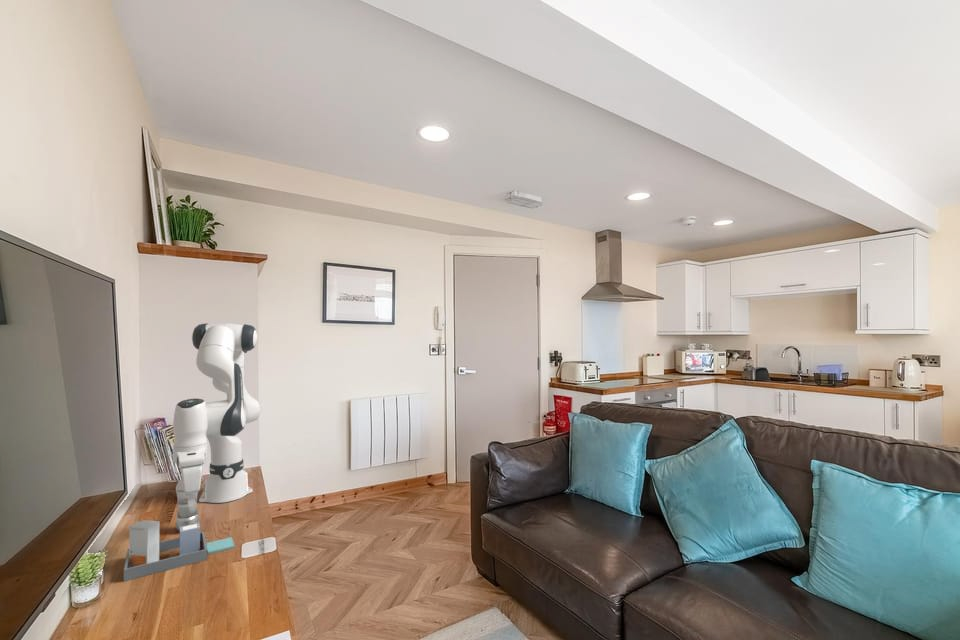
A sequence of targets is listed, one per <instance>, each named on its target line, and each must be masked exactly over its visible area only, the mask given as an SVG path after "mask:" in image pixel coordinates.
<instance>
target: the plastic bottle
mask: <svg viewBox="0 0 960 640" xmlns="http://www.w3.org/2000/svg"><path fill="white" fill-rule="evenodd" d="M198 493H199V491H198V492H196V496H195V504H194V505H191V506H188V498H187V495H186V494H185V493H184V488H183V481H182V474H181V473H180V479H179V480H178V482H177V484H176V486H175V494H176V497H177V515H176V519H175V529H176V530H177V531H178V532H180V527H182V526H187V525H192V524H196V523H199V524H200V516H199V513H198Z"/></svg>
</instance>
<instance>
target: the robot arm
mask: <svg viewBox="0 0 960 640" xmlns="http://www.w3.org/2000/svg"><path fill="white" fill-rule="evenodd" d="M192 331H193V332H192V334H191V340H192V344H193V347H194V348H195V349H196V350H198V351H197V353H196V359H195V360H196V361H195V362H196V363H195V364H196V367H197V368H198V370H199V372H201V373H202V374H203V375H205V376H206V377H209V378H211V379H212V385H213V387H214V389H216V390H217V391H219V392H222V393H225V394H226V399H225V400H216V401H209V402H206V401H205V400H204V399H202V398H187V399H184V400H181V401H179V402H178V403H177V404H176V405H175V408H174V412H173V419H172V420H173V421H172V422H173V423H172V433H173V435H174V440H173V443H172V444H173V445H172V463H173V464H175V465H177V467H178V468H179V469H180V475H181V474H182V477H181V478H182V481H183V488H184V493H185V494H186V495H187V498H188V506H191V505H194V504H195V496H196V492H198V493H199V492H200V490H201V484H202V475H203V466H204V464H205V463H206V459H207V458H209V456H208V453H209V452H208V451H209V449H208V448H210V463H209V466H208V468H209V469H208V470H209V474H208V476H207V477H206V479H205V480H203V485H202V486H203V487H205V488H203V490H202V493H201V495H200V497H199V499H198V503H210V504H211V503H212V504H218V503H219V504H220V503H221V504H223V503H228V502H232V501H236V500H239V499H242V498H243V497H245V496H246V495H248V494H251V493H253V488H251V487H250V486H249V483H248V481H249V479H248V478H249V477H248V472H247V471H246V470H245V469H244V465H245V462H244V459H243V442H242V439H241V438H240V437H238V436H237V435H238V434H239V433H241V432H242V431H243V430H244V429H245V427H246V425H247V424H250V423H252V422H255V421H257V420H258V418H259V417H260V415H261V412H262V409H261V408H262V406H261V404H260V402H259V401H258V400H257V399H256V398H254V397H253V396H252V395H250V393H249V392H248V390H247V388H246V385H245V354H246V353H247V352H250V351H252V350H253V349H255V346H256V344H257V343H258V338H259V337H258V332H257V331H256V328H255V327H254V326H253V325H250V324H246V323H245V324H240V323H234V322H233V323H230V322H226V323H221V322H220V323H207V322H206V323H200V324H198V325H196V327H194V329H193V330H192ZM208 443H209V445H208Z"/></svg>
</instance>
